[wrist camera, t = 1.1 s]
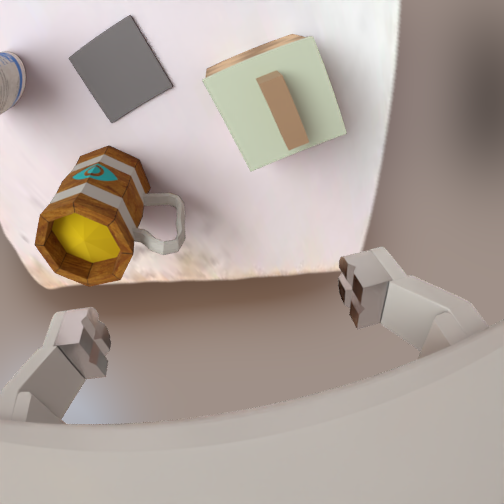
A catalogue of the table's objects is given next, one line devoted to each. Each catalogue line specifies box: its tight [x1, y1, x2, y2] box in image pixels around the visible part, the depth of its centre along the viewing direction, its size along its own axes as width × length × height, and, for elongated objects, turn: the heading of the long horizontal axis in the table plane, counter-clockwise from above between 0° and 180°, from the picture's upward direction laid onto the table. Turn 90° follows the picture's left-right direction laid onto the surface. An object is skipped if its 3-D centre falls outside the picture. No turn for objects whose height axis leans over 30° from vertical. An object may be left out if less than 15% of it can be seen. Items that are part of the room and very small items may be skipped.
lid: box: [202, 36, 347, 171], centre depth 32 cm, size 12×12×6 cm
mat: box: [69, 15, 173, 123], centre depth 33 cm, size 10×12×1 cm
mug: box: [35, 146, 186, 286], centre depth 40 cm, size 20×14×15 cm
